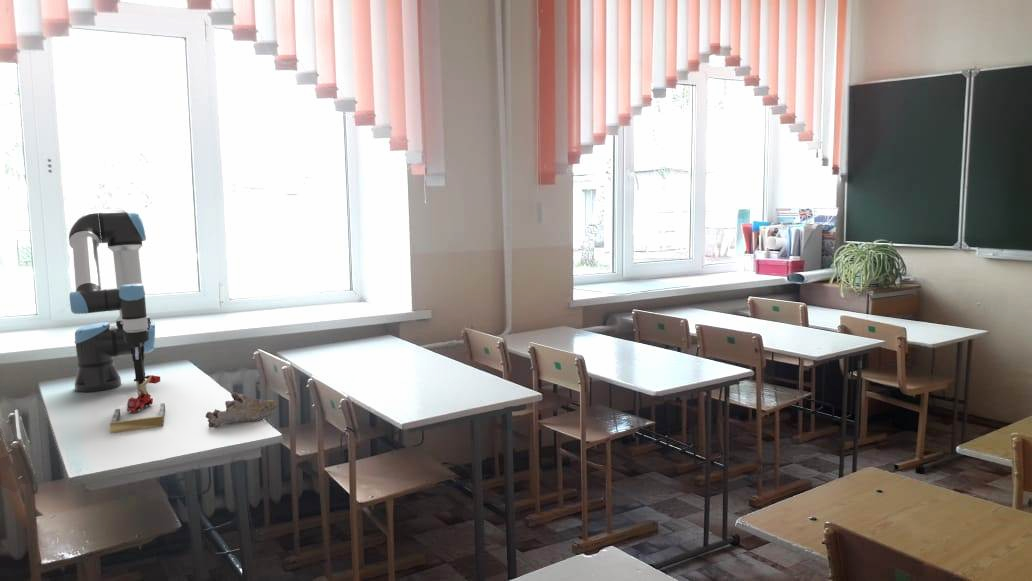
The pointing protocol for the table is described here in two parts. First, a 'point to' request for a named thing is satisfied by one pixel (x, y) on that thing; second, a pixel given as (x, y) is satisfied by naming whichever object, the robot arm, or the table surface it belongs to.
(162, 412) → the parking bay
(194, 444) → the table surface
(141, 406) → the toy fire truck
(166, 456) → the table surface
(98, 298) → the robot arm
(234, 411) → the mineral specimen
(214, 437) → the table surface
